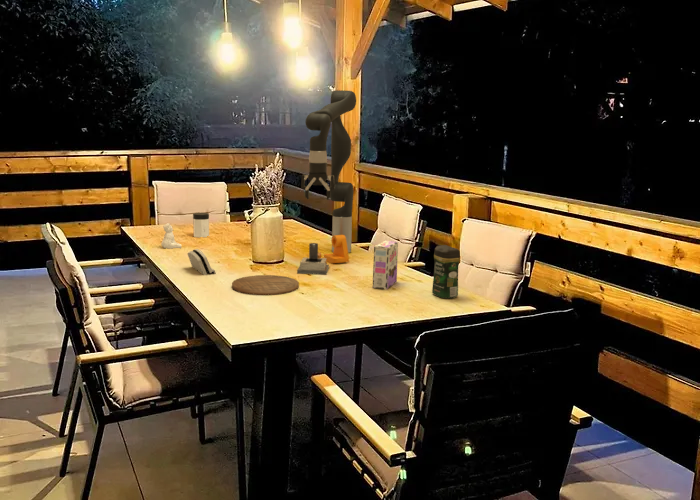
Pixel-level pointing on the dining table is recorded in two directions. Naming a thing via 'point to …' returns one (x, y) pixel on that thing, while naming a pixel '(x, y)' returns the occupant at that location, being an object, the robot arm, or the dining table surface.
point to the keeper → (313, 258)
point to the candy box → (385, 264)
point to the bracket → (338, 250)
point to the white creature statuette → (169, 238)
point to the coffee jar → (446, 271)
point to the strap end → (313, 263)
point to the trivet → (265, 285)
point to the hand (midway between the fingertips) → (317, 199)
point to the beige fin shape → (200, 262)
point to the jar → (201, 224)
